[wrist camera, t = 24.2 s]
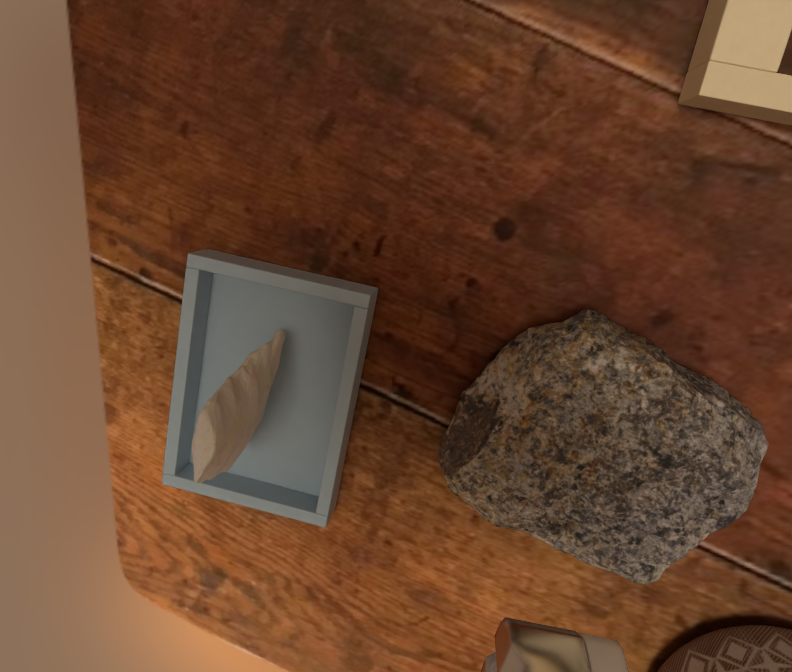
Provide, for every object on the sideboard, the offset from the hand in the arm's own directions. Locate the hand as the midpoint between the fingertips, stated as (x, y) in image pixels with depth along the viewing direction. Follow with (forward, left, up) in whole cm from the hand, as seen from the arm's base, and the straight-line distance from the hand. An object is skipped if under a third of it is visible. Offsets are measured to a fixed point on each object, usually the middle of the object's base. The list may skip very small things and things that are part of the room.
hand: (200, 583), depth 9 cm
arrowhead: (-8, -9, -29) cm, 31 cm away
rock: (+11, -7, -29) cm, 32 cm away
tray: (-8, -9, -29) cm, 31 cm away
